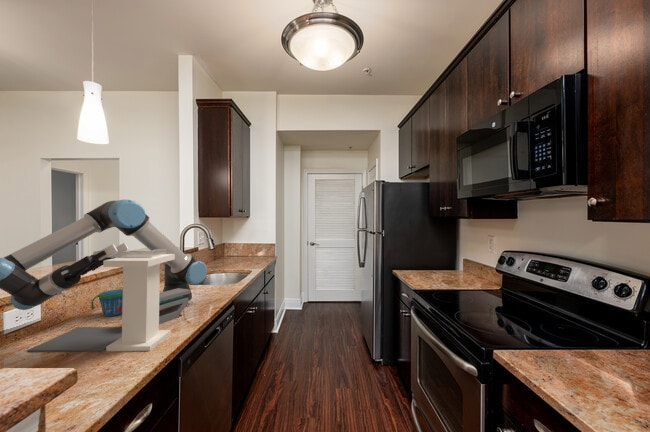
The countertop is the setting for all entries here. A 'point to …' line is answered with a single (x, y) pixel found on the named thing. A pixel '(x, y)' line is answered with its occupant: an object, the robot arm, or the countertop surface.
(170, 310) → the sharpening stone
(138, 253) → the bracket
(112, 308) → the snack cup
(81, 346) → the mat
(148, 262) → the stand
